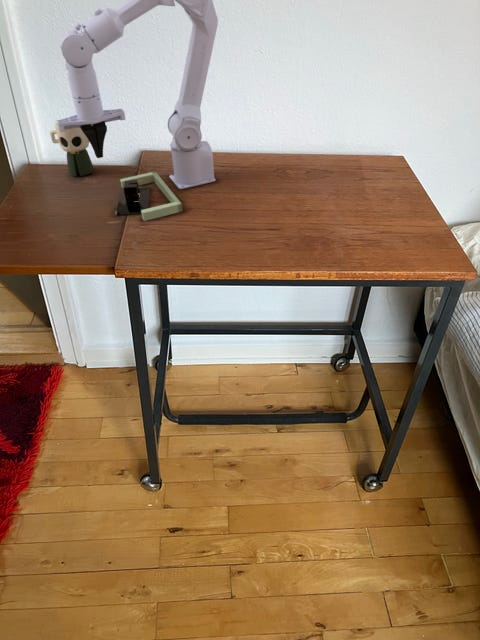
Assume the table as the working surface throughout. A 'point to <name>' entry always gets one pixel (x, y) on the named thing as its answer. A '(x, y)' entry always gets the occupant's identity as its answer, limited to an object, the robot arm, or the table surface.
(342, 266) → the table surface
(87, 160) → the character mug
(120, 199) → the build plate
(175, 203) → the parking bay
